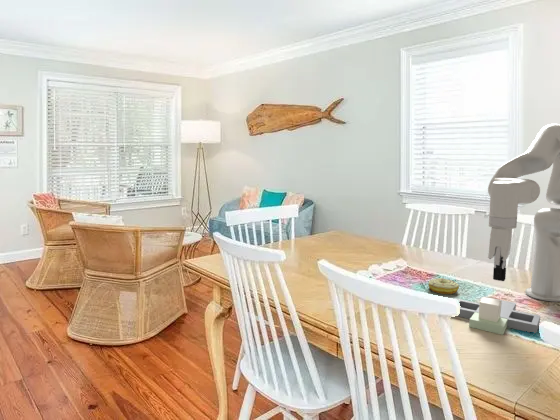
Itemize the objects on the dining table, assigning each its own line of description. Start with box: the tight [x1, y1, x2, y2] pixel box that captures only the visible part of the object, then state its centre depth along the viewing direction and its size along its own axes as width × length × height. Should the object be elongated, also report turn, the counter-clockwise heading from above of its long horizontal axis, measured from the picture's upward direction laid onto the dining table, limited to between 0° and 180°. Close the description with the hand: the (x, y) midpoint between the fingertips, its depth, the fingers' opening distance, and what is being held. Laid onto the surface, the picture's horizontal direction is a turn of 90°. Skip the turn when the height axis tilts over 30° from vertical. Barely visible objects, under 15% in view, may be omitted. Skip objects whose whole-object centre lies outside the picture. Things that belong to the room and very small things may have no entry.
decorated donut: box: [428, 277, 460, 295], centre depth 159 cm, size 10×11×4 cm
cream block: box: [479, 296, 502, 322], centre depth 128 cm, size 5×5×5 cm
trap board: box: [456, 296, 541, 336], centre depth 134 cm, size 23×24×2 cm
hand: (499, 279), depth 134 cm, fingers closed
